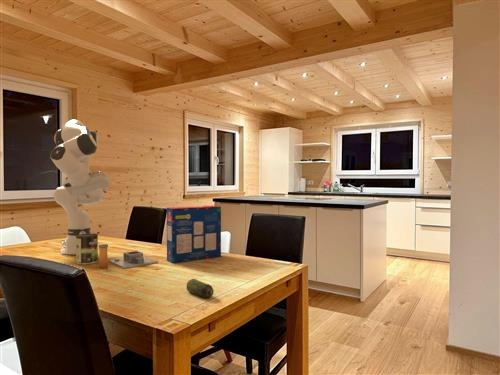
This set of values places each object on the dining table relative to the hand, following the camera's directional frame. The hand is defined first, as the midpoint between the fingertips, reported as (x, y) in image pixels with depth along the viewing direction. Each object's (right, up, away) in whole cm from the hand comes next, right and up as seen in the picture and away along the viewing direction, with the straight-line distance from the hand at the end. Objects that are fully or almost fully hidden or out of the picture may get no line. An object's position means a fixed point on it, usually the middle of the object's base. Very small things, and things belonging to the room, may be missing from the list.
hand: (97, 194), depth 169 cm
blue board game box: (+44, -35, +17) cm, 59 cm away
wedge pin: (+4, -35, -2) cm, 36 cm away
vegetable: (+56, -36, -42) cm, 79 cm away
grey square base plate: (+14, -35, +8) cm, 39 cm away
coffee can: (-10, -35, +9) cm, 38 cm away
